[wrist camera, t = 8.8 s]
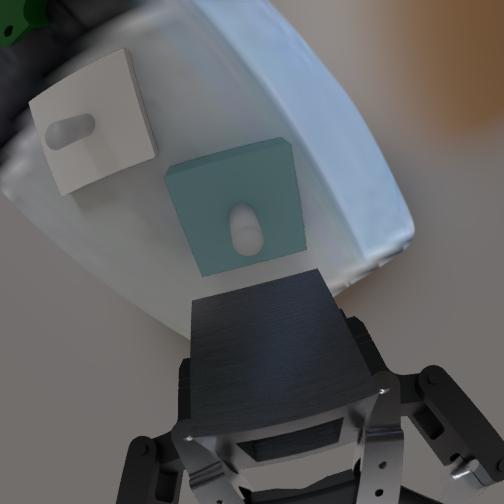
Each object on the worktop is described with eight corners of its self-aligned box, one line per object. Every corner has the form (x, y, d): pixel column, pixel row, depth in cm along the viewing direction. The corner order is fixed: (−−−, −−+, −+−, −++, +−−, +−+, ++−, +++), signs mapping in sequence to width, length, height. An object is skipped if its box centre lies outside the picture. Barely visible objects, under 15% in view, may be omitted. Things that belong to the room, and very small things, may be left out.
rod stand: (37, 100, 16) (-5, 110, 11) (128, 50, 16) (100, 37, 11) (68, 190, 22) (36, 221, 16) (158, 153, 22) (141, 175, 16)
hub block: (169, 167, 22) (151, 202, 16) (281, 137, 22) (312, 159, 16) (202, 258, 28) (202, 316, 21) (298, 233, 28) (325, 284, 21)
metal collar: (191, 300, 11) (191, 437, 6) (317, 268, 11) (379, 392, 6) (227, 368, 14) (239, 469, 9) (322, 343, 14) (358, 440, 9)
